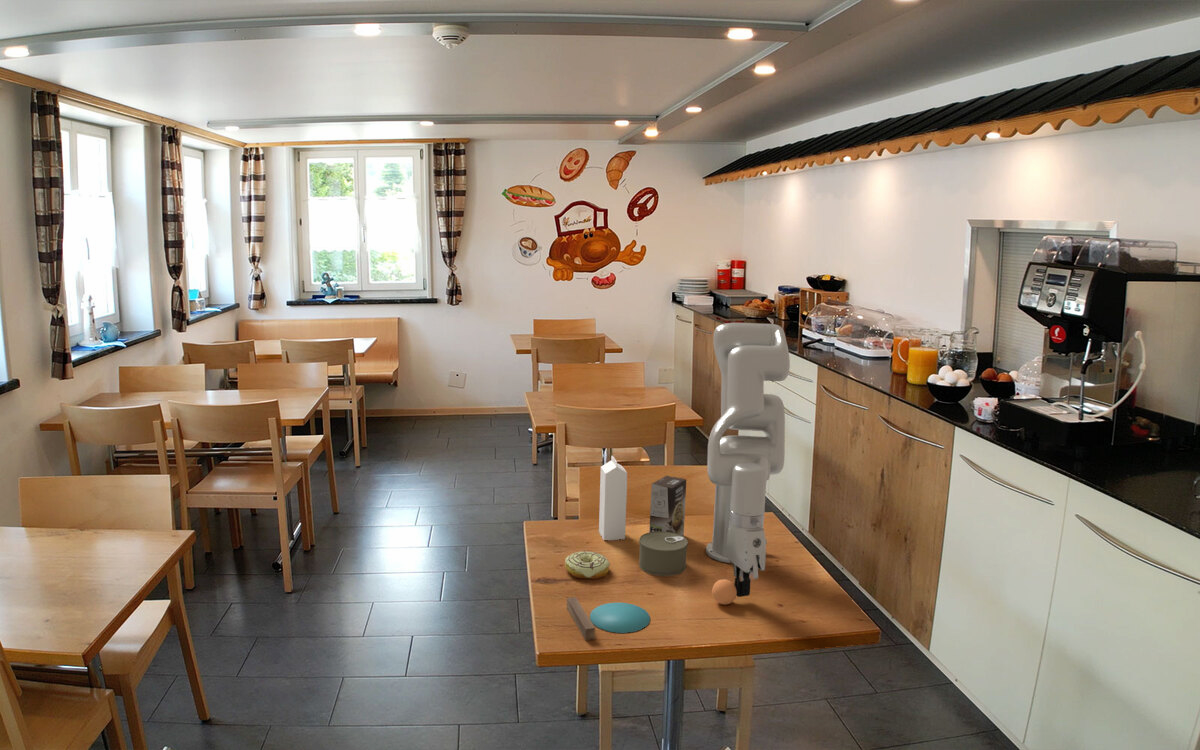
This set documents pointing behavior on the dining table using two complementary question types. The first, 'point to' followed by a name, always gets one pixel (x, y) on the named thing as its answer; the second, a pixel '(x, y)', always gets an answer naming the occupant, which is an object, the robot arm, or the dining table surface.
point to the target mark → (619, 617)
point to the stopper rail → (580, 618)
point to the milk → (612, 501)
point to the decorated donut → (587, 565)
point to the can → (663, 553)
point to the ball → (724, 591)
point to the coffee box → (668, 505)
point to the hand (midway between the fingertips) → (741, 594)
